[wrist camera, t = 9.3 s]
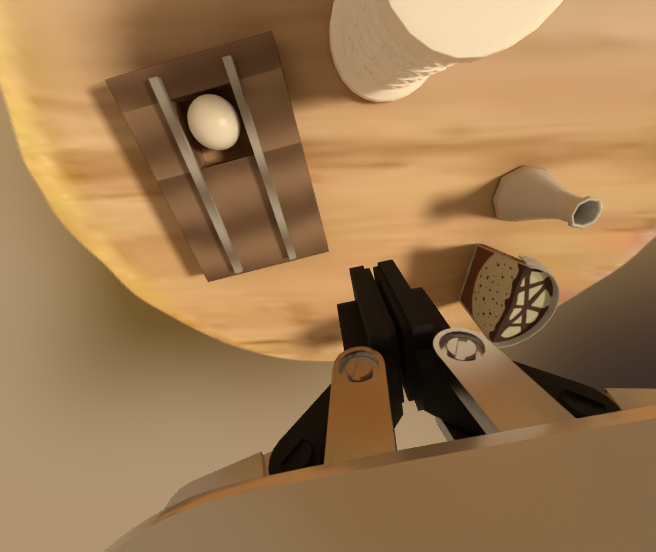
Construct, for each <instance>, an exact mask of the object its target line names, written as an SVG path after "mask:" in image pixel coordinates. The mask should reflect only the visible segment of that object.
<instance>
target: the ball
mask: <svg viewBox="0 0 656 552" xmlns="http://www.w3.org/2000/svg"><path fill="white" fill-rule="evenodd" d="M187 119H188V125H189V128H190V130H191V133H192V134H193V136H194V137H195V138H196V140H197V141H198V142H199V143H201V144H202V145H203V146H205V147H207V148H209V149H213V150H225V149H228V148H230V147H231V146H233V145H234V144H235V143H236V141H237V140H238V138H239V135H240V130H241V125H240V119H239V116H238V114H237V112H236V110H235V108H234V107H233V106H232V105H231V104H230V103H229V102H228V101H227V100H226V99H224V98H222V97H220V96H218V95H214V94H204V95H201V96H199V97H197V98H196V99H195V100H194V101H193V102H192V103H191V105H190V107H189V109H188V115H187Z"/></svg>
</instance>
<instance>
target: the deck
mask: <svg viewBox="0 0 656 552" xmlns="http://www.w3.org/2000/svg"><path fill="white" fill-rule="evenodd" d="M106 82H107V84H108V86H109V88H110V90H111V92H112V94H113V96H114V98H115V100H116V102H117V104H118V106H119V108H120V110H121V112H122V114H123V116H124V118H125V120H126V122H127V124H128V126H129V128H130V130H131V131H132V133H133V135H134V137H135V139H136V141H137V143H138V145H139V147H140V149H141V151H142V153H143V155H144V157H145V159H146V161H147V163H148V165H149V167H150V169H151V171H152V173H153V175H154V177H155V179H156V181H157V183H158V185H159V187H160V189H161V191H162V192H163V194H164V196H165V198H166V200H167V202H168V204H169V206H170V208H171V210H172V212H173V214H174V216H175V218H176V220H177V222H178V224H179V226H180V228H181V230H182V232H183V234H184V236H185V238H186V240H187V242H188V244H189V246H190V248H191V250H192V252H193V253H194V255H195V257H196V259H197V261H198V263H199V265H200V267H201V269H202V271H203V273H204V275H205V277H206V279H207V281H208V282H210V281H214V280H218V279H222V278H226V277H230V276H234V275H238V274H242V273H246V272H250V271H254V270H258V269H261V268H265V267H269V266H273V265H277V264H281V263H285V262H289V261H293V260H297V259H301V258H305V257H309V256H313V255H317V254H321V253H325V252H329V250H328V245H327V241H326V237H325V233H324V229H323V225H322V221H321V218H320V214H319V210H318V206H317V202H316V198H315V194H314V190H313V187H312V183H311V179H310V175H309V171H308V167H307V163H306V160H305V156H304V152H303V148H302V144H301V140H300V136H299V132H298V129H297V125H296V121H295V117H294V113H293V109H292V105H291V102H290V98H289V94H288V90H287V86H286V82H285V78H284V74H283V71H282V67H281V63H280V59H279V55H278V51H277V47H276V44H275V40H274V37H273V34H272V31H270V32H267V33H264V34H260V35H257V36H253V37H250V38H246V39H243V40H240V41H236V42H233V43H229V44H226V45H222V46H219V47H215V48H212V49H209V50H205V51H202V52H198V53H195V54H191V55H188V56H185V57H181V58H178V59H174V60H171V61H167V62H164V63H161V64H157V65H154V66H150V67H147V68H143V69H140V70H137V71H133V72H130V73H126V74H123V75H119V76H116V77H113V78H109V79H106ZM229 89H233V92H234V95H235V98H236V101H237V104H238V107H239V110H240V113H241V116H242V119H243V122H244V125H245V128H246V131H247V134H248V137H249V140H250V143H251V146H252V149H253V152H254V155H250V156H246V157H243V158H239V159H235V160H232V161H228V162H224V163H221V164H217V165H213V166H210V167H207V164H206V162H205V160H204V157H203V155H202V152H201V150H200V148H199V145H198V143H197V140H196V138H195V137H194V136H193V134H192V133H191V130H190V128H189V125H188V119H187V116H186V114H185V112H184V109H183V107H182V104H181V103H184V102H187V101H191V100H194V99H196V98H197V97H199V96H201V95H204V94H215V93H219V92H222V91H226V90H229Z"/></svg>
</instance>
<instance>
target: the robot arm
mask: <svg viewBox="0 0 656 552" xmlns="http://www.w3.org/2000/svg"><path fill="white" fill-rule="evenodd" d="M349 270H350V276H351V281H352V286H353V292H354V297H355V301H351V302H346V303H341V304H337V309H338V315H339V321H340V328H341V334H342V340H343V346H344V351H343V352H342V353H341V354H340V355H338V357H337V358H336V360H335V361H334V365H333V370H332V381H331V384H330V385H329V387H328V388H327V389H326V390H325V391H324V392H323V393H322V394H321V395H320V397H319V398H318V399H317V400H316V401H315V402H314V403H313V404H312V405H311V406H310V408H309V409H308V410H307V411H306V412H305V413H304V414H303V415H302V416H301V418H300V419H299V420H298V421H297V422H296V423H295V424H294V425H293V426H292V427H291V429H290V430H289V431H288V432H287V433H286V434H285V435H284V436H283V437H282V438H281V440H280V441H279V442H278V444H277V445H276V446H275V448H274V449H273V451H272V452H270V453H267V454H265V455H263V454H262V452H259V453H257V454H254V455H252V456H250V457H248V458H245V459H243V460H241V461H238V462H236V463H234V464H231V465H229V466H227V467H225V468H222V469H220V470H218V471H215V472H213V473H211V474H208V475H206V476H204V477H201V478H199V479H197V480H194V481H192V482H190V483H188V484H187V485H185V486H184V487H182V488H181V489H180V490H179V491H178V492H177V493H176V494H175V495H174V496H173V497H172V498H171V499H170V501H169V503H168V504H167V506H166V507H165V509H164V510H162V511H160V512H159V513H157V514H155V515H153V516H152V517H150V518H148V519H147V520H145V521H144V522H142V523H140V524H139V525H137V526H136V527H134V528H133V529H131V530H130V531H129V532H127V533H126V534H125V535H123V536H122V537H120V538H119V539H118V540H117V541H115V542H114V543H113V544H112V545H111V546H109V547H108V548H107V549H106V550H105V551H104V552H656V389H618V388H616V389H615V388H605V390H604V393H601V392H599V391H598V390H596V389H593V388H591V387H589V386H586V385H584V384H581V383H578V382H575V381H572V380H569V379H566V378H562V377H560V376H557V375H554V374H550V373H548V372H545V371H542V370H538V369H536V368H533V367H530V366H527V365H524V364H520V363H518V362H515V361H512V360H510V359H509V358H508V357H507V356H506V355H504V354H503V353H502V352H501V351H500V350H499V349H498V348H497V347H496V346H494V345H493V344H492V343H491V342H490V341H489V340H488V339H487V338H486V337H484V336H483V335H481V334H480V333H478V332H476V331H473V330H470V329H465V328H450V326H449V325H448V323H447V322H446V321H445V319H444V318H443V316H442V315H441V314H440V312H439V311H438V309H437V308H436V306H435V305H434V304H433V302H432V301H431V299H430V298H429V297H428V295H427V294H426V292H425V291H424V290H423V289H422V288H421V287H419V288H414V289H411V288H410V286H409V285H408V283H407V282H406V280H405V279H404V277H403V275H402V274H401V272H400V271H399V269H398V267H397V266H396V264H395V263H394V261H393V260H387V261H382V262H378V266H376V267H373V271H374V278H375V280H374V278H373V275H372V273H371V271H370V268H367V269H364V266H359V267H354V268H349ZM402 385H403V386H402ZM403 387H404V390H405V393H406V396H407V398H408V400H409V401H413V400H414V401H415V403H416V406H417V408H418V411H419V410H424V411H427V412H428V413H430V414H432V415H434V416H435V419H436V422H437V424H438V426H439V428H440V430H441V431H442V433H443V434H444V436H445V438H446V439H447V441H448V442H443V443H437V444H432V445H426V446H421V447H415V448H409V449H404V450H399V451H397V445H396V438H395V431H394V428H395V427H396V425H397V423H398V422H399V420H400V419H401V417H402V416H403V408H402V403H403V402H404V396H403Z"/></svg>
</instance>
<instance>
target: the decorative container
mask: <svg viewBox="0 0 656 552" xmlns="http://www.w3.org/2000/svg"><path fill="white" fill-rule="evenodd" d="M562 1H563V0H334V3H333V7H332V13H331V19H330V25H329V42H330V51H331V55H332V59H333V63H334V66H335V68H336V70H337V72H338V74H339V76H340V78H341V80H342V81H343V82H344V83H345V84H346V85H347V87H348V88H349V89H350V90H351V91H352V92H353V93H355V94H357V95H358V96H360V97H361V98H363V99H365V100H369V101H373V102H376V103H378V102H391V101H394V100H397V99H400V98H402V97H405V96H407V95H409V94H410V93H412V92H413V91H414V90H416V89H417V88H419V87H420V86H421V85H422V84H423V83H424V81H425V80H426V79H427V78H428V77H429V76H430V75H433V74H436V73H437V72H440V71H443V70H445V69H446V68H447V67H450V66H452V65H454V64H457V63H471V62H474V61H476V60H479V59H482V58H484V57H487V56H490V55H492V54H495V53H498V52H500V51H502V50H504V49H507V48H509V47H511V46H512V45H514V44H515V43H517V42H518V41H520V40H521V39H522V38H524V37H525V36H527V35H528V34H530V33H531V32H533V31H534V30H536V29H537V28H538V27H539V26H540V25H541V24H542V23H543V21H544V20H545V19H546V18H547V17H548V16H549V15H550V14H551V13H552V12H553V11H554V10H555V9H556V8H557V7H558V6H559V5H560V3H561V2H562Z"/></svg>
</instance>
